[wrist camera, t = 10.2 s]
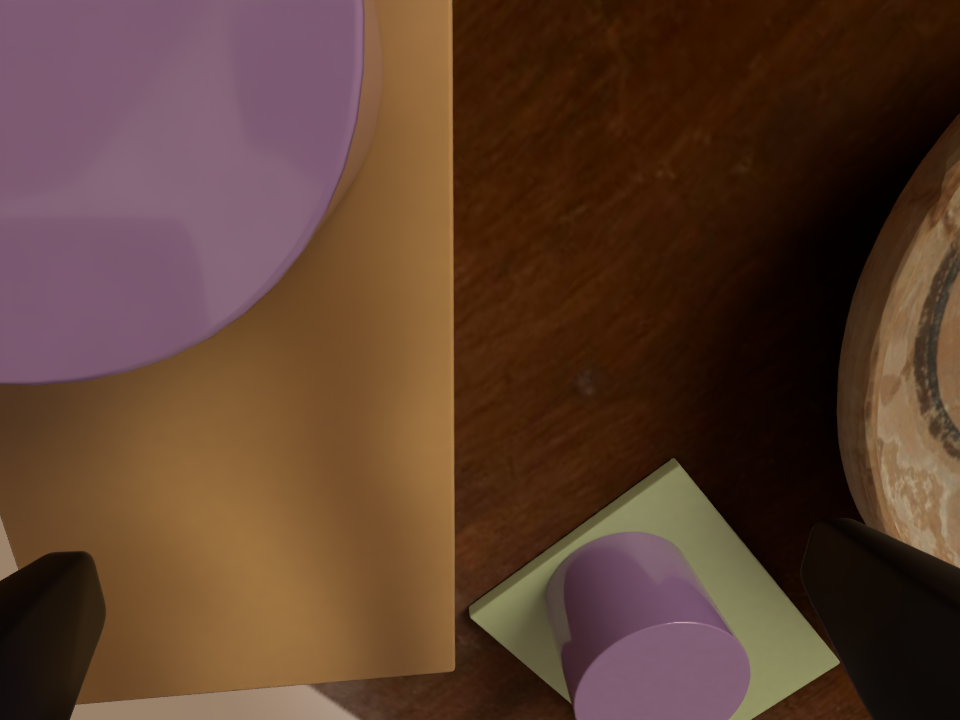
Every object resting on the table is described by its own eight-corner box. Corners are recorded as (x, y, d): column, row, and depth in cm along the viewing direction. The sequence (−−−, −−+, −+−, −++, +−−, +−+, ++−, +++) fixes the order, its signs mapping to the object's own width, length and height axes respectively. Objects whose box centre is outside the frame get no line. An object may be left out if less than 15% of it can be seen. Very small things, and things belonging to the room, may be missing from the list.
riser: (199, 469, 21) (62, 707, 12) (94, -100, 15) (-304, -377, 6) (435, 458, 22) (455, 673, 13) (426, -84, 16) (451, -309, 7)
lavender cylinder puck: (-11, 272, 9) (-354, 402, 5) (-163, -246, 7) (-1005, -784, 3) (391, 266, 10) (382, 377, 6) (371, -209, 8) (331, -597, 3)
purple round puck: (540, 656, 25) (567, 765, 21) (548, 535, 23) (581, 630, 19) (681, 644, 26) (734, 747, 21) (702, 526, 23) (767, 615, 19)
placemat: (467, 606, 24) (469, 618, 24) (673, 456, 23) (680, 465, 22) (653, 766, 29) (658, 778, 29) (832, 652, 28) (841, 663, 27)
